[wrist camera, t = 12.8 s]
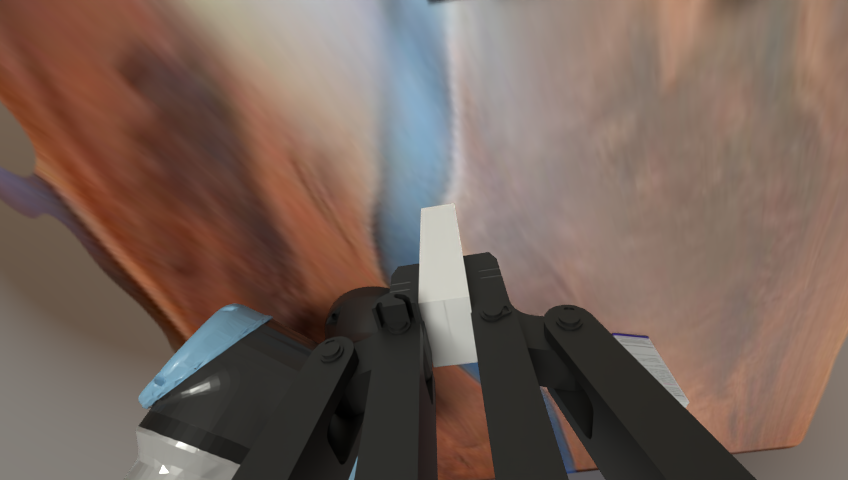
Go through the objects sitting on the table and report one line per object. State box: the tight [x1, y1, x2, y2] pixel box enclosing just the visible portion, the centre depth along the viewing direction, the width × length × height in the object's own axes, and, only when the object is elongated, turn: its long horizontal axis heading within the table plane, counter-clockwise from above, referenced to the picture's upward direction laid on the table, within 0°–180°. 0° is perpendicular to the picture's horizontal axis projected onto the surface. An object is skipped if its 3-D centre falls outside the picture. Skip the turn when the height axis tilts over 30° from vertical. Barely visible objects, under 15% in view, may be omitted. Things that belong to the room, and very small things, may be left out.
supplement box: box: [612, 333, 689, 408], centre depth 53 cm, size 6×6×12 cm
